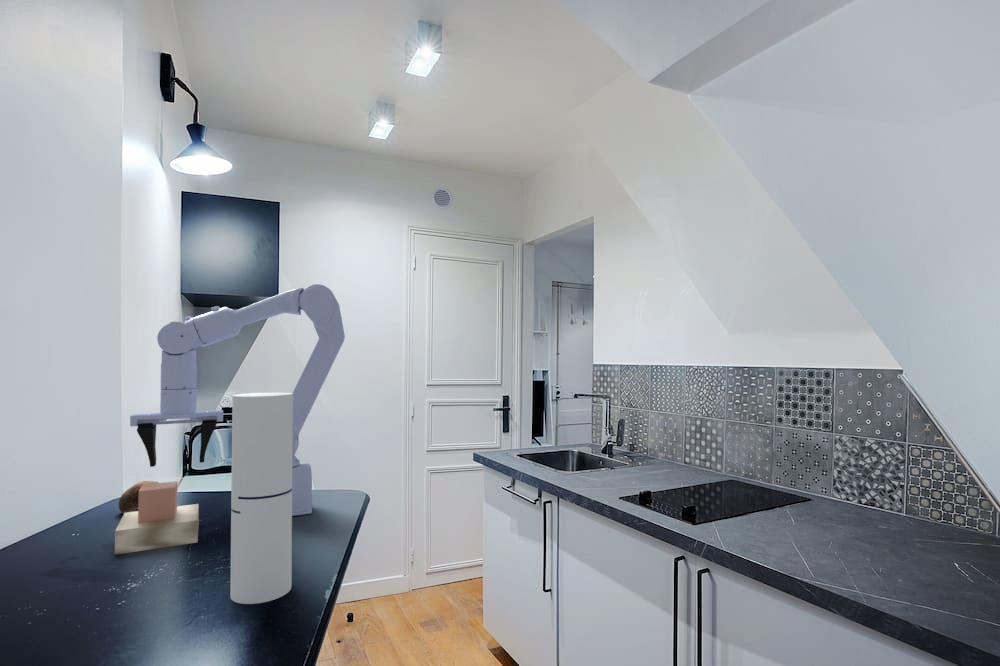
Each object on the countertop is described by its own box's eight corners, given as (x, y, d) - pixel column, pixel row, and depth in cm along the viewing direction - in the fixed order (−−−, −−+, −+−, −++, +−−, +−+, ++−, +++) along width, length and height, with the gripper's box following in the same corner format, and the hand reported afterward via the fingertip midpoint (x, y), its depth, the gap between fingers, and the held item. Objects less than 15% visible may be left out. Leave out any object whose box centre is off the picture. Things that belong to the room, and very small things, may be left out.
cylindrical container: (269, 606, 66) (271, 396, 67) (217, 601, 67) (219, 396, 68) (302, 581, 73) (303, 392, 74) (254, 577, 74) (256, 392, 75)
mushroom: (180, 489, 110) (158, 466, 108) (153, 516, 102) (129, 491, 101) (153, 505, 112) (132, 483, 110) (125, 532, 104) (101, 509, 103)
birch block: (198, 526, 98) (198, 503, 98) (197, 545, 88) (197, 520, 89) (124, 536, 93) (124, 512, 93) (114, 557, 83) (115, 531, 83)
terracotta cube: (176, 510, 94) (177, 481, 94) (174, 518, 90) (175, 487, 90) (142, 514, 92) (142, 484, 92) (138, 522, 87) (138, 491, 87)
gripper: (127, 391, 94) (126, 471, 93) (223, 388, 100) (222, 463, 99) (134, 389, 100) (132, 464, 99) (223, 386, 106) (222, 457, 106)
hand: (177, 463), depth 100 cm, fingers open, 7 cm apart
